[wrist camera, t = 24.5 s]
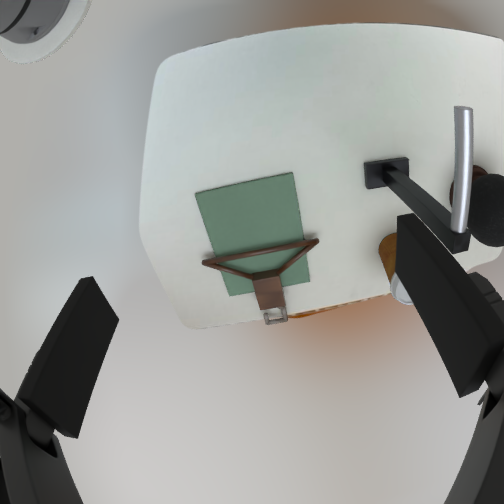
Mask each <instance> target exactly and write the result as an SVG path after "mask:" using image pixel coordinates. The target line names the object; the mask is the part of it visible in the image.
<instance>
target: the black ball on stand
mask: <svg viewBox="0 0 504 504" xmlns="http://www.w3.org/2000/svg"><path fill="white" fill-rule="evenodd" d="M453 190H454V181H453V183H452V186H451V189H450V204H451V207H452V203H453ZM467 227H468V229H469V231H470V232H471V234H472V235H473V236H474V237H475V238H476V239H477V240H478V241H479V242H481V243H483V244H485V245H487V246H492V247H501V246H504V176H502V175H499V174H487V172H486V171H485V170H484V169H483V168H481V167H479V166H477V165H473V168H472V183H471V195H470V205H469V213H468V221H467Z"/></svg>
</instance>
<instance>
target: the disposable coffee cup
mask: <svg viewBox="0 0 504 504" xmlns="http://www.w3.org/2000/svg"><path fill="white" fill-rule="evenodd" d="M396 241H397V233H393V234H390V235H388V236H387V237H385V238H384V239H383V240H382V242H381V243H380V246H379V255H380V257H381V260H382V263H383V265H384V268H385V271H386V274H387V276H388V279H389V282H390V289H391V294H392V296H393V297H394V298H395V299H396V300H398V301H400V302H401V303H403V304H405V305H412V304H413V302H412V300H411V298H410V297H409V295H408V293H407V291H406V290H405V288H404V286H403V285H402V283H401V281H400V279H399V278H398V276H397V274H396V273H395V260H396Z"/></svg>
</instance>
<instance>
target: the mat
mask: <svg viewBox="0 0 504 504" xmlns="http://www.w3.org/2000/svg"><path fill="white" fill-rule="evenodd" d="M195 197H196V200H197V203H198V206H199V209H200V212H201V215H202V218H203V221H204V224H205V227H206V230H207V233H208V236H209V239H210V242H211V245H212V248H213V250H214V253H215V256H216V257H221V256H227V255H232V254H237V253H242V252H247V251H252V250H257V249H263V248H268V247H273V246H278V245H283V244H288V243H293V242H299V241H304V237H303V231H302V224H301V218H300V212H299V206H298V200H297V195H296V189H295V183H294V178H293V173H287V174H282V175H277V176H272V177H267V178H262V179H257V180H252V181H248V182H243V183H238V184H234V185H229V186H225V187H221V188H216V189H212V190H208V191H204V192H200V193H196V194H195ZM304 247H305V246H303V247H298V248H293V249H288V250H283V251H278V252H272V253H267V254H262V255H257V256H252V257H246V258H241V259H236V260H231V261H226V262H220V263H218V264H220V265H223V266H226V267H230V268H233V269H236V270H240V271H243V272H246V273H249V274H252V273H256V272H261V271H267V270H272V269H277V268H278V269H279V268H280V267H281V266H282V265H284V264H285V263H286V262H287V261H288V260H290V259H291V258H292V257H293V256H294V255H296V254H297V253H298V252H299V251H300V250H302V249H303V248H304ZM221 273H222V276H223V279H224V282H225V285H226V288H227V290H228V293H229V296H234V295H240V294H246V293H252V292H255V290H254V287H253V283H252V280H250V279H247V278H244V277H240V276H237V275H234V274H230V273H227V272H224V271H221ZM280 279H281V284H282V287H284V286H290V285H295V284H300V283H305V282H310V278H309V271H308V264H307V257H306V254H305V255H303V256H302V257H301V258H300V259H298V260H297V261H296V262H295V263H294V264H292V265H291V266H290V267H289V268H287V269H286V270H285V271H284V272H283V273H281V274H280Z"/></svg>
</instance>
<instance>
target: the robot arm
mask: <svg viewBox="0 0 504 504" xmlns="http://www.w3.org/2000/svg"><path fill="white" fill-rule="evenodd" d="M69 1H70V0H0V36H1V37H3V38H5V39H7V40H9V41H11V42H13V43H17V44H29V43H33V42H36V41H38V40H40V39H41V38H43V37H44V36H46V35H47V34H48V33H49V32H50V31H51V30H52V29H53V28H54V27H55V26H56V25H57V23H58V22H59V21H60V19H61V18H62V16H63V14H64V13H65V11H66V9H67V6H68V4H69ZM395 273H396V274H397V276H398V278H399V279H400V281H401V283H402V285H403V286H404V288H405V290H406V291H407V293H408V295H409V297H410V298H411V300H412V302H413V304H414V306H415V307H416V309H417V311H418V313H419V315H420V317H421V319H422V320H423V322H424V324H425V326H426V328H427V330H428V332H429V334H430V336H431V338H432V340H433V342H434V343H435V346H436V348H437V350H438V352H439V354H440V356H441V358H442V360H443V362H444V364H445V366H446V368H447V370H448V373H449V375H450V377H451V379H452V382H453V384H454V386H455V388H456V391H457V393H458V395H459V398H461V397H463V396H466V395H468V394H470V393H472V392H474V391H477V390H479V388H480V386H481V385H482V383H483V382H484V380H485V381H486V383H487V385H488V389H487V390H486V392H485V393H484V395H483V396H482V397H481V399H480V400H479V403H478V405H480V404H481V403H482V402H483V405H482V409H481V412H480V415H479V419H478V422H477V425H476V428H475V431H474V434H473V437H472V440H471V443H470V446H469V448H468V451H467V454H466V456H465V459H464V461H463V464H462V466H461V468H460V471H459V473H458V475H457V478H456V480H455V482H454V484H453V486H452V489H451V491H450V493H449V495H448V497H447V499H446V501H445V503H444V504H504V300H502V297H501V296H500V295H499V293H498V292H496V290H495V288H494V287H493V286H492V284H491V283H490V282H489V281H488V279H486V278H485V277H483V276H481V275H480V274H478V273H477V272H474V273H470V274H467V273H466V272H465V270H464V269H463V268H462V267H461V266H460V264H459V263H458V262H457V261H456V259H455V258H454V257H453V256H452V255H451V254H450V252H449V251H448V250H447V249H446V248H445V247H444V245H443V244H442V243H441V242H440V241H439V240H438V239H437V238H436V236H435V235H434V234H433V233H432V232H431V231H430V230H429V229H428V228H427V227H426V225H425V224H424V223H423V222H422V221H421V220H420V219H419V218H418V217H417V216H416V215H415V214H414V213H411V214H405V215H400V216H397V241H396V260H395ZM118 322H119V318H118V317H117V316H116V314H115V312H114V311H113V309H112V307H111V306H110V304H109V303H108V301H107V299H106V298H105V296H104V294H103V293H102V291H101V290H100V288H99V286H98V284H97V283H96V281H95V279H94V278H93V276H91V277H86V278H81V279H80V280H79V282H78V284H77V285H76V287H75V288H74V290H73V292H72V293H71V295H70V297H69V298H68V300H67V302H66V303H65V305H64V307H63V308H62V310H61V312H60V313H59V315H58V317H57V319H56V321H55V322H54V324H53V326H52V328H51V330H50V331H49V333H48V335H47V337H46V339H45V341H44V342H43V344H42V346H41V348H40V350H39V351H38V352H37V353H36V355H35V357H34V359H33V361H32V365H30V367H29V369H28V373H26V375H25V378H24V380H23V382H22V384H21V386H20V388H19V391H18V393H17V395H16V397H15V399H14V401H13V400H12V399H11V398H10V397H9V396H8V395H6V394H5V393H4V392H3V391H2V390H1V389H0V504H83V502H82V499H81V497H80V495H79V493H78V490H77V488H76V486H75V484H74V481H73V479H72V476H71V474H70V471H69V468H68V466H67V463H66V460H65V458H64V455H63V452H62V449H61V446H60V443H59V440H58V438H57V437H56V436H55V435H54V434H53V432H54V429H56V430H57V431H58V432H60V433H61V434H62V435H64V436H67V437H71V438H76V439H77V438H78V436H79V433H80V429H81V426H82V423H83V419H84V416H85V413H86V410H87V407H88V403H89V400H90V397H91V394H92V391H93V389H94V385H95V383H96V380H97V377H98V374H99V371H100V369H101V366H102V363H103V360H104V358H105V355H106V352H107V350H108V347H109V344H110V342H111V339H112V337H113V334H114V332H115V329H116V327H117V324H118Z"/></svg>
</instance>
